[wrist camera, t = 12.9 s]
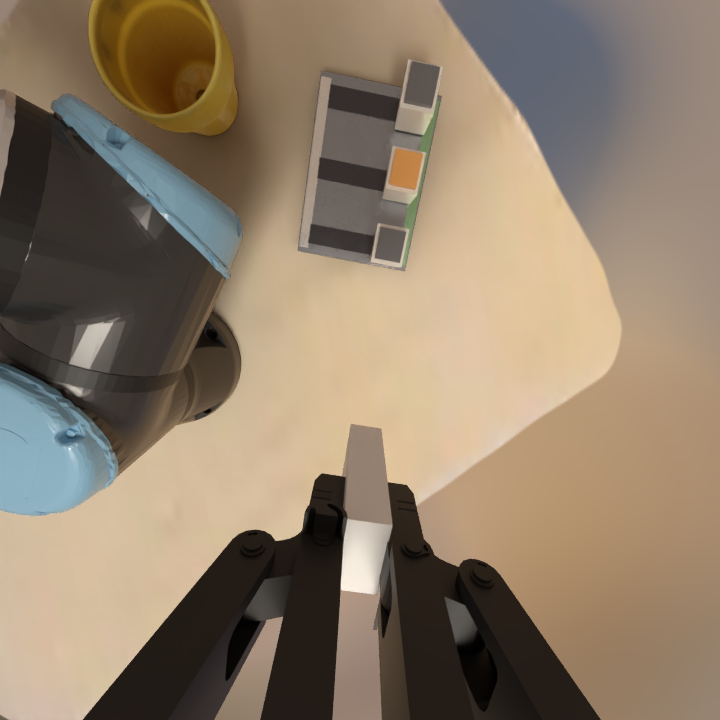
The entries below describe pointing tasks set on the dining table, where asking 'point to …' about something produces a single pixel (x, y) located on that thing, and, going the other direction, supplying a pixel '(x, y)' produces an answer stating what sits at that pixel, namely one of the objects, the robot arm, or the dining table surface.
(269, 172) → the dining table surface
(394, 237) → the block
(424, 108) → the breaker
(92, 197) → the robot arm
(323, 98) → the panel
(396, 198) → the block
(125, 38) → the plant pot
